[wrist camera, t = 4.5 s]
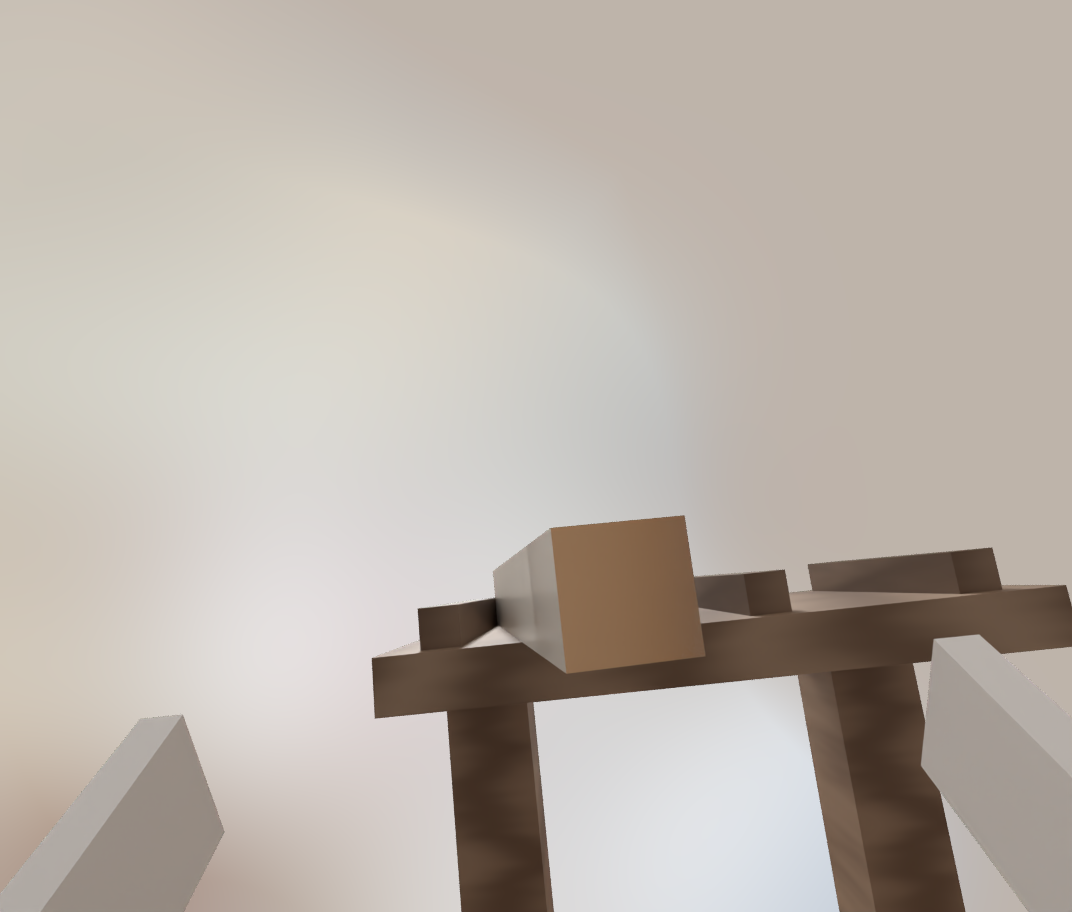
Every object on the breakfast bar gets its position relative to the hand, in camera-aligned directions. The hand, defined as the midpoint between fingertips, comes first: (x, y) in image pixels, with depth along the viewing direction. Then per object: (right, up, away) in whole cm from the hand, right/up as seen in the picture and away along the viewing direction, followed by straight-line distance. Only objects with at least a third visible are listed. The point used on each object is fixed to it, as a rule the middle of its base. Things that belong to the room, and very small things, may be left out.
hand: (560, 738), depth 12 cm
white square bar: (0, -2, +14) cm, 14 cm away
